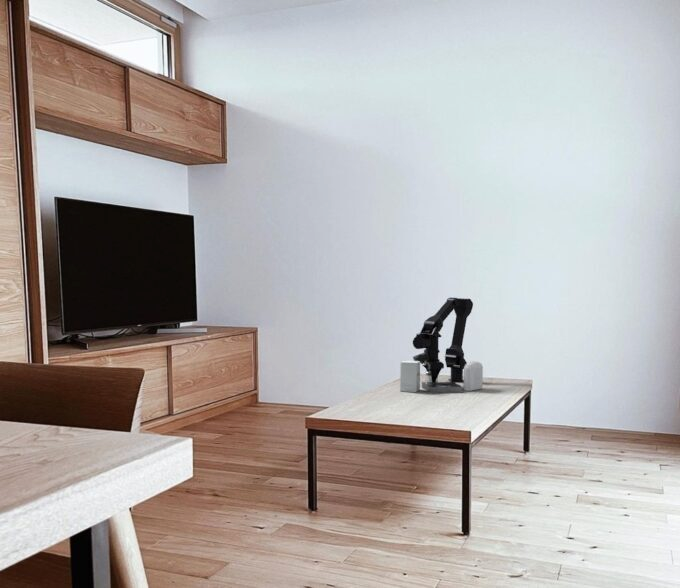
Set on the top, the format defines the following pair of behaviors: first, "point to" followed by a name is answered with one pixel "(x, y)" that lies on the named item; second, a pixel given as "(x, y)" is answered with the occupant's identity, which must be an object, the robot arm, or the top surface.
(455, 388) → the mount plate
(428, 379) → the lens
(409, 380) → the supplement box
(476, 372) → the photo printer
